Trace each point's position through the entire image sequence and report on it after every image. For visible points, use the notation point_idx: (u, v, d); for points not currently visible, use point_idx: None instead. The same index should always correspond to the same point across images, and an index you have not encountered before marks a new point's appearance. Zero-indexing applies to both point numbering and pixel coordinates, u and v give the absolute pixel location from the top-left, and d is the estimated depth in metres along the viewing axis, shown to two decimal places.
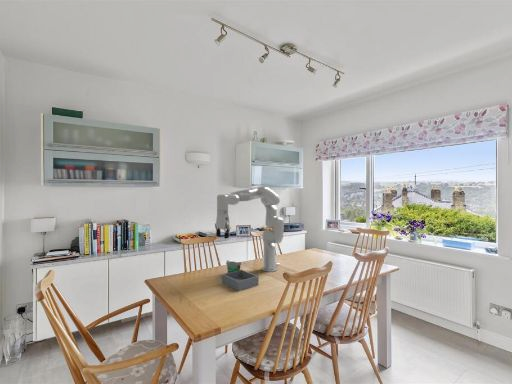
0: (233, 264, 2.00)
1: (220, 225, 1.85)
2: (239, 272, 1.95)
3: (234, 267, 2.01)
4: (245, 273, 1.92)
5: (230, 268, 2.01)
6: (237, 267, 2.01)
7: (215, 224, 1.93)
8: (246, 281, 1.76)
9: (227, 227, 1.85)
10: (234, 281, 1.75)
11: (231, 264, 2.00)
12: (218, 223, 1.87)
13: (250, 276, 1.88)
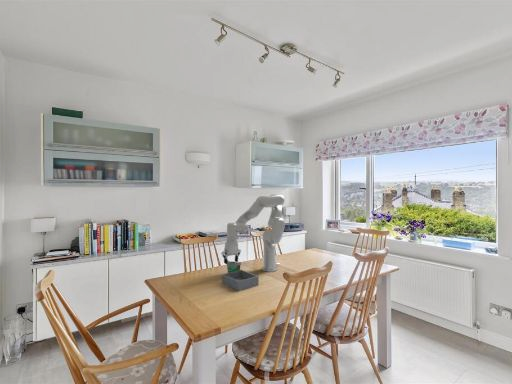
0: (233, 264, 2.00)
1: (234, 251, 2.02)
2: (239, 272, 1.95)
3: (234, 267, 2.01)
4: (245, 273, 1.92)
5: (230, 268, 2.01)
6: (237, 267, 2.01)
7: (223, 253, 1.97)
8: (246, 281, 1.76)
9: None
10: (234, 281, 1.75)
11: (231, 264, 2.00)
12: (231, 250, 2.00)
13: (250, 276, 1.88)
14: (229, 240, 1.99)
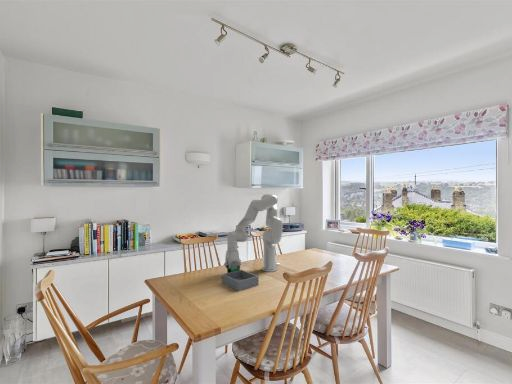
0: (233, 264, 2.00)
1: (235, 260, 2.02)
2: (239, 272, 1.95)
3: (234, 267, 2.00)
4: (245, 273, 1.92)
5: (230, 268, 2.01)
6: (237, 267, 2.01)
7: (225, 264, 1.99)
8: (246, 281, 1.76)
9: None
10: (234, 281, 1.75)
11: (231, 264, 2.00)
12: (232, 259, 2.01)
13: (250, 276, 1.88)
14: (230, 249, 2.00)
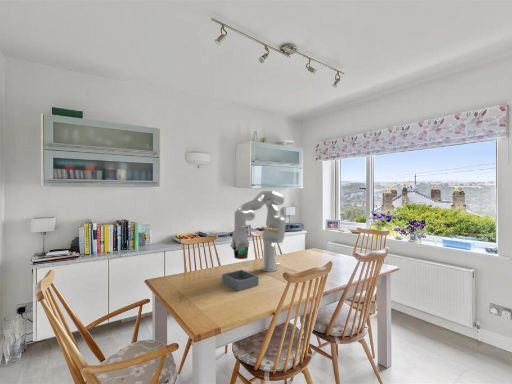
0: (240, 246, 1.81)
1: (243, 242, 1.83)
2: (239, 272, 1.95)
3: (241, 249, 1.81)
4: (245, 273, 1.92)
5: (237, 250, 1.82)
6: (245, 249, 1.82)
7: (232, 245, 1.80)
8: (246, 281, 1.76)
9: None
10: (234, 281, 1.75)
11: (238, 246, 1.81)
12: (240, 241, 1.82)
13: (250, 276, 1.88)
14: (237, 229, 1.81)
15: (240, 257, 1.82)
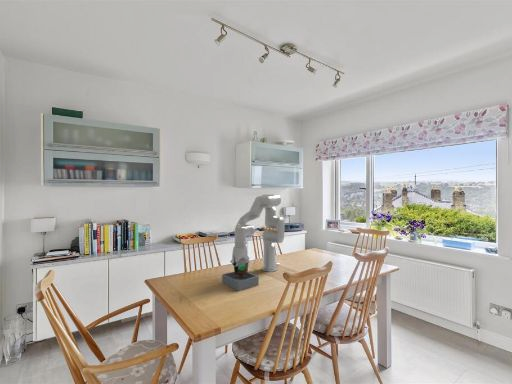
0: (240, 261, 1.80)
1: (243, 257, 1.83)
2: None
3: (241, 265, 1.81)
4: None
5: None
6: (245, 265, 1.82)
7: (232, 261, 1.79)
8: (246, 281, 1.76)
9: None
10: (234, 281, 1.75)
11: (238, 261, 1.81)
12: (240, 256, 1.81)
13: (250, 276, 1.88)
14: (237, 245, 1.81)
15: (240, 273, 1.81)
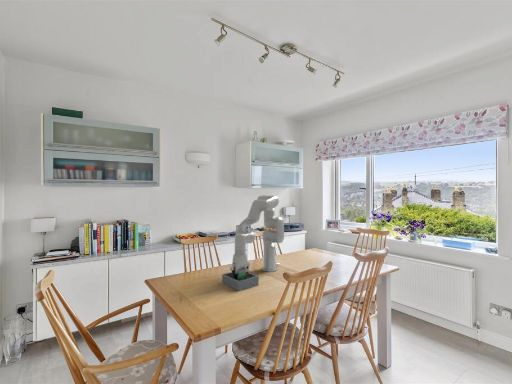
0: (240, 271, 1.81)
1: (243, 265, 1.83)
2: None
3: (242, 274, 1.81)
4: None
5: (238, 275, 1.82)
6: (245, 274, 1.82)
7: (232, 268, 1.79)
8: (246, 281, 1.76)
9: None
10: (234, 281, 1.75)
11: (238, 271, 1.81)
12: (240, 264, 1.81)
13: (250, 276, 1.88)
14: (237, 253, 1.81)
15: None
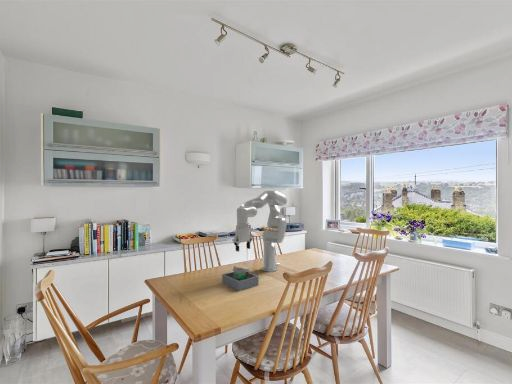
0: (240, 271, 1.81)
1: (245, 238, 1.88)
2: None
3: (242, 274, 1.81)
4: None
5: (238, 275, 1.82)
6: (245, 274, 1.82)
7: (234, 240, 1.83)
8: (246, 281, 1.76)
9: None
10: (234, 281, 1.75)
11: (238, 271, 1.81)
12: (243, 237, 1.86)
13: (250, 276, 1.88)
14: (240, 226, 1.85)
15: None
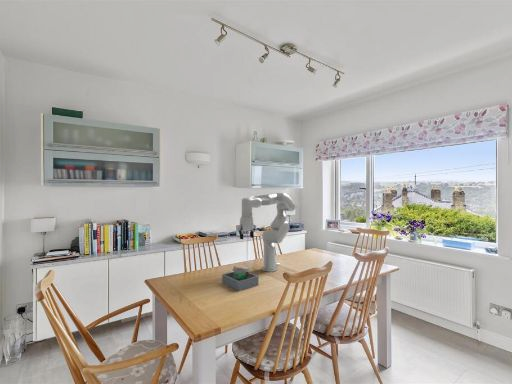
0: (240, 271, 1.81)
1: (249, 227, 1.98)
2: None
3: (242, 274, 1.81)
4: None
5: (238, 275, 1.82)
6: (245, 274, 1.82)
7: (238, 228, 1.94)
8: (246, 281, 1.76)
9: None
10: (234, 281, 1.75)
11: (238, 271, 1.81)
12: (247, 225, 1.96)
13: (250, 276, 1.88)
14: (244, 215, 1.96)
15: None
